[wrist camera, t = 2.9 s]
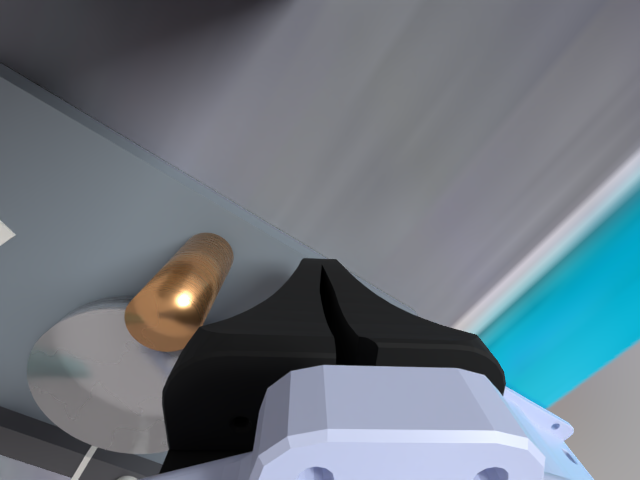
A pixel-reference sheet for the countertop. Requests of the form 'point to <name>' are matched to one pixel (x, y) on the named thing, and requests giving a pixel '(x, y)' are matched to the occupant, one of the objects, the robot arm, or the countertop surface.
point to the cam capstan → (127, 352)
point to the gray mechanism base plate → (101, 253)
